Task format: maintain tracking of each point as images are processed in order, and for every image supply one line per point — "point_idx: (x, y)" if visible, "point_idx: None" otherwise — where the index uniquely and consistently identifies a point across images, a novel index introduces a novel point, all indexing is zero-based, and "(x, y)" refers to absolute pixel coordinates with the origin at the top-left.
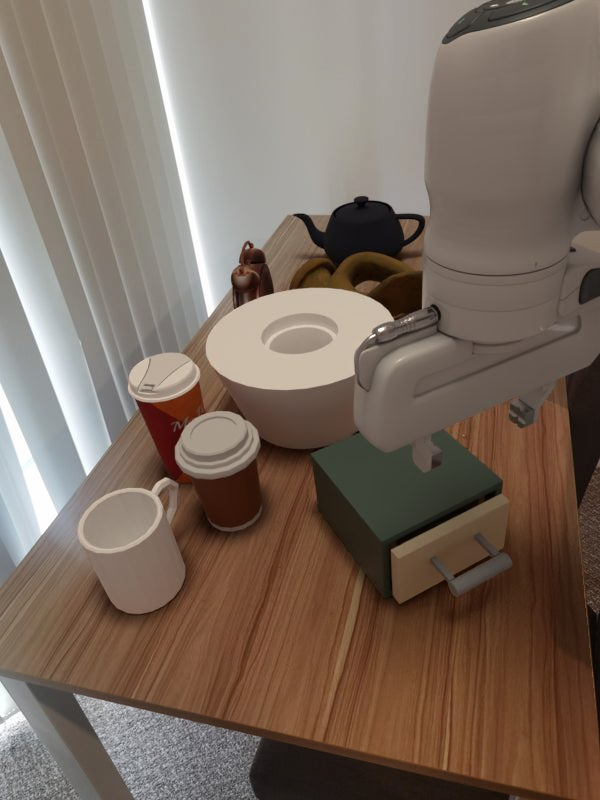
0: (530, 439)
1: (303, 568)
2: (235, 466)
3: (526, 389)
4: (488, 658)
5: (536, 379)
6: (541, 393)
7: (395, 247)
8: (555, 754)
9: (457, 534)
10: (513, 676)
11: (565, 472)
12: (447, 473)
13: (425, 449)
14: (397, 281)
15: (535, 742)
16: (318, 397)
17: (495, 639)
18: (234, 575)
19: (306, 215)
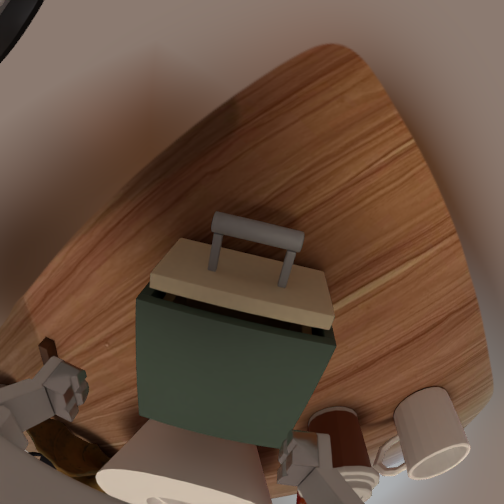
0: (62, 296)
1: (345, 354)
2: (354, 472)
3: (40, 480)
4: (303, 167)
5: (7, 478)
6: (14, 403)
7: (50, 461)
8: (336, 70)
9: (241, 288)
10: (301, 137)
11: (63, 249)
12: (183, 353)
13: (339, 491)
14: (67, 467)
15: (341, 88)
16: (221, 478)
17: (279, 174)
18: (385, 380)
19: None
